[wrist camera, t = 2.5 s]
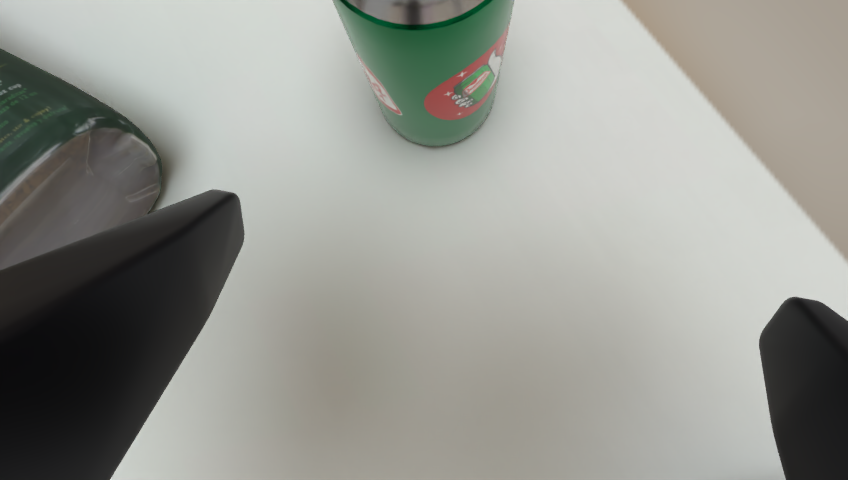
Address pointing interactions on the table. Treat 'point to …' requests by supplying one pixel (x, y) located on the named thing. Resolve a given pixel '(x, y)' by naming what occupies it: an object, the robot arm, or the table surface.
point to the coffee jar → (65, 164)
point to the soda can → (430, 61)
